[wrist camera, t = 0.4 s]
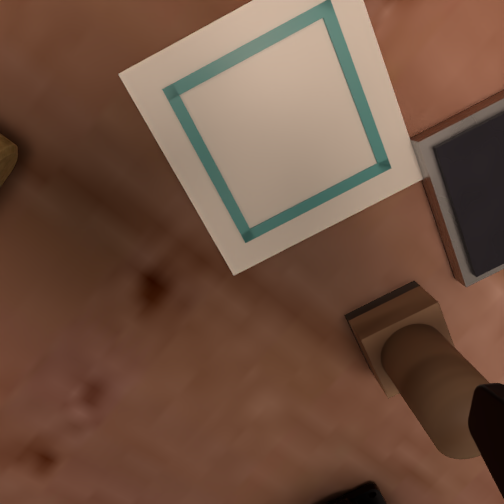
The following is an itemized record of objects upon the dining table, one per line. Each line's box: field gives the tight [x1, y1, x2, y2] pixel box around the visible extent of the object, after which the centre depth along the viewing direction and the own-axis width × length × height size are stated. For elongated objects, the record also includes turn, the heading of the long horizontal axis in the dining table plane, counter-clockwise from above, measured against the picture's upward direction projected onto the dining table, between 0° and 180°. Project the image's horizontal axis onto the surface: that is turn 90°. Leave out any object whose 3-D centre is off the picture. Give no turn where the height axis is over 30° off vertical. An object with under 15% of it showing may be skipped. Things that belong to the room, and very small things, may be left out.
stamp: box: [345, 281, 490, 459], centre depth 20 cm, size 4×4×7 cm
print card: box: [118, 0, 423, 275], centre depth 19 cm, size 10×10×1 cm
